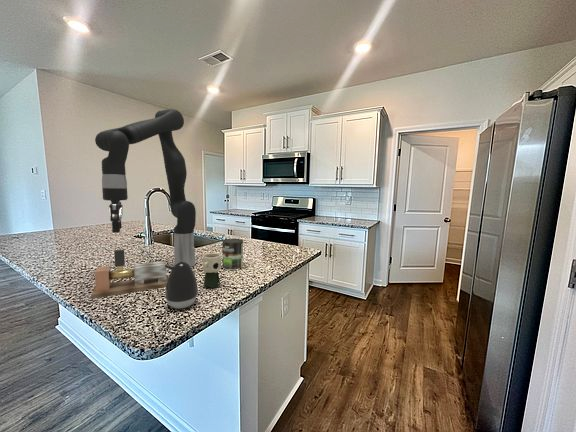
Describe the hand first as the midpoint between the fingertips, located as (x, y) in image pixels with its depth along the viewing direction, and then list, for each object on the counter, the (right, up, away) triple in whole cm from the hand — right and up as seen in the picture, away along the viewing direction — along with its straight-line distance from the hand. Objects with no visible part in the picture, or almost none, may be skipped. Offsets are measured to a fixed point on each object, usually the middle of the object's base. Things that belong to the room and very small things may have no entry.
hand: (117, 230), depth 92 cm
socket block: (-5, -22, 0) cm, 22 cm away
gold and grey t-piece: (0, -18, +3) cm, 19 cm away
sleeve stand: (+3, -23, +5) cm, 23 cm away
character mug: (+33, -24, +9) cm, 41 cm away
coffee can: (+36, -21, +33) cm, 53 cm away
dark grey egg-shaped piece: (+28, -25, -8) cm, 38 cm away
